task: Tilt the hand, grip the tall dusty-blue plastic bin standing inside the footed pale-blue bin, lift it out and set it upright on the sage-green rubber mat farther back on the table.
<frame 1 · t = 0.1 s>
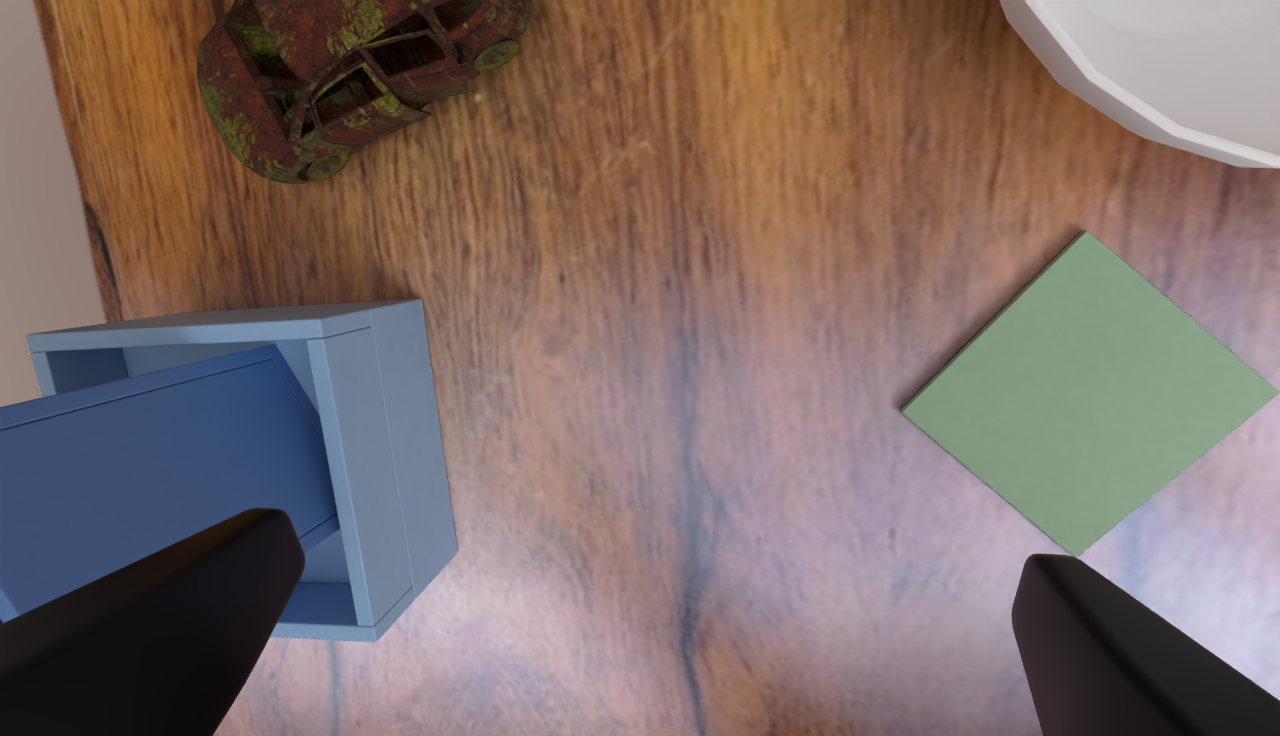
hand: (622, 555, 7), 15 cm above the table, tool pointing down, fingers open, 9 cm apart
upper bin: (259, 462, 22), point 3 cm above the table, touching lower bin
toy car: (384, 52, 22), on the table
lower bin: (323, 432, 26), on the table
mat: (1076, 400, 21), on the table
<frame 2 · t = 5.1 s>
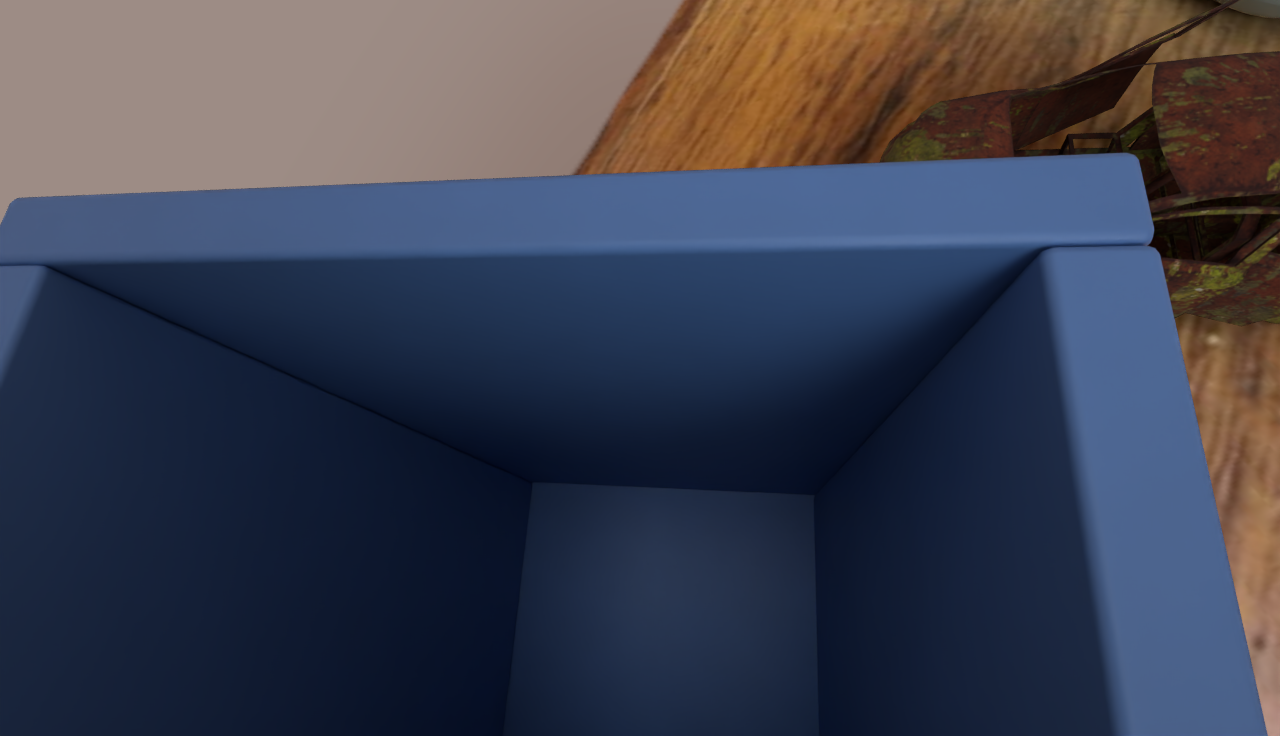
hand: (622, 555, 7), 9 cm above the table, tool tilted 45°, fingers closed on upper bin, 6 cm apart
upper bin: (663, 639, 12), point 4 cm above the table, touching gripper, lower bin
toy car: (1087, 232, 17), on the table
when the fingers open (5 cm above the table, at t = 14.3 s): upper bin stays where it is, resting on mat.
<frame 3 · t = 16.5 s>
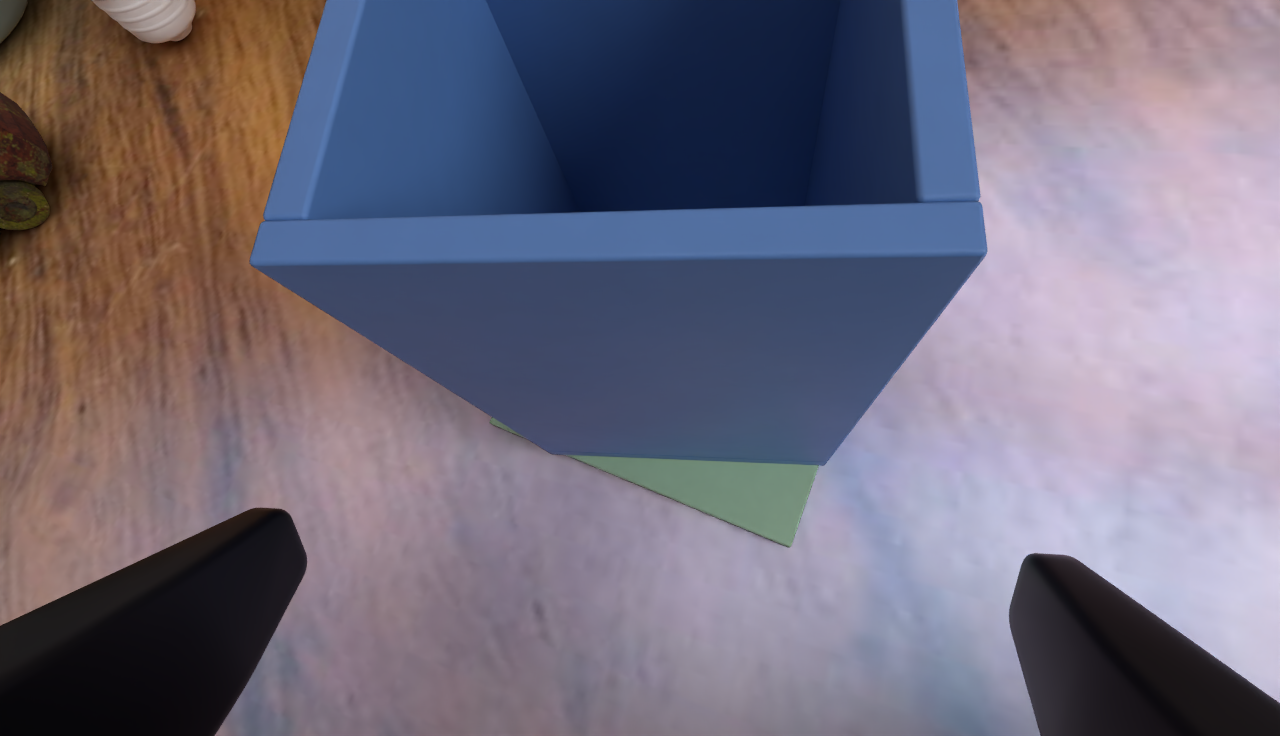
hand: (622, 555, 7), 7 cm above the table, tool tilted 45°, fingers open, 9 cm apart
lightbulb: (187, 37, 23), on the table
upper bin: (688, 331, 16), resting on mat
mat: (691, 338, 16), on the table
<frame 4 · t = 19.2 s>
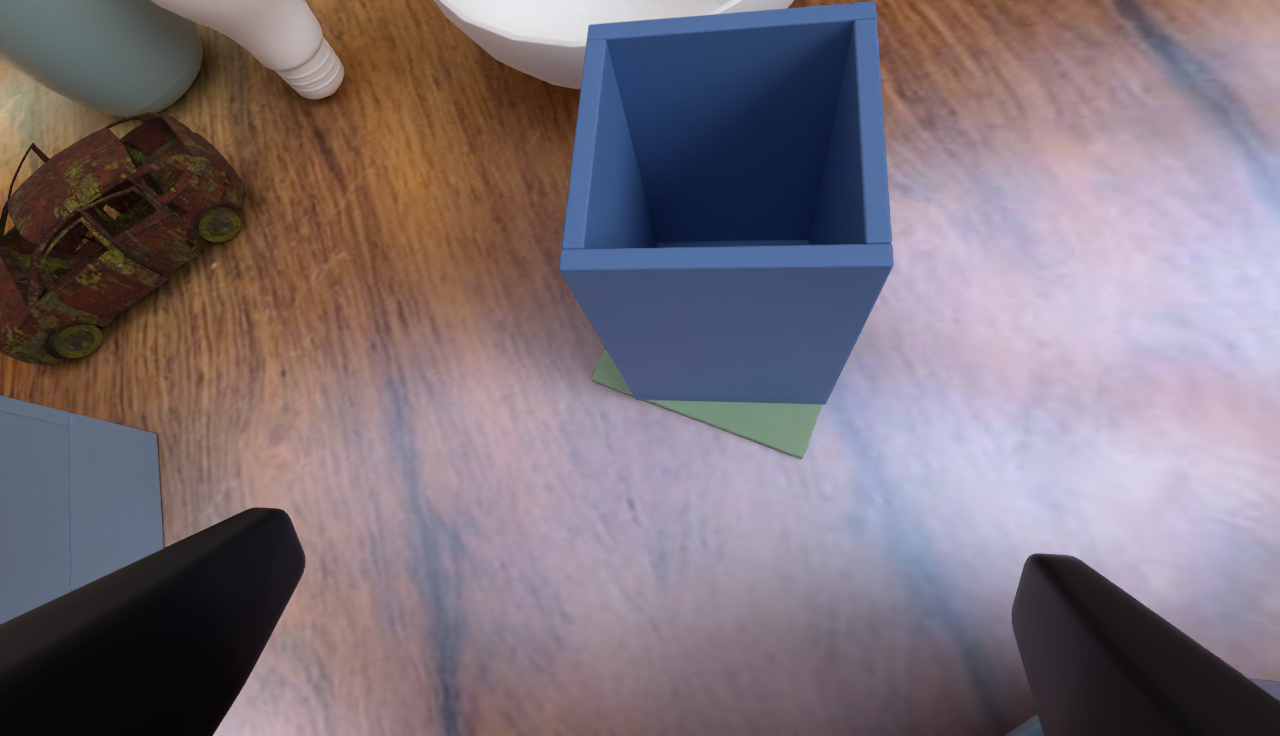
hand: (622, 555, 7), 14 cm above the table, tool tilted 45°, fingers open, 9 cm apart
lightbulb: (332, 93, 30), on the table
upper bin: (730, 315, 22), resting on mat
toy car: (145, 260, 28), on the table
bowl: (648, 36, 28), on the table
cup: (165, 83, 32), on the table
lower bin: (37, 613, 23), on the table
mat: (731, 320, 23), on the table
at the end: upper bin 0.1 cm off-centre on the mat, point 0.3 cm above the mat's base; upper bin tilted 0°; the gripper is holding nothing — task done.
